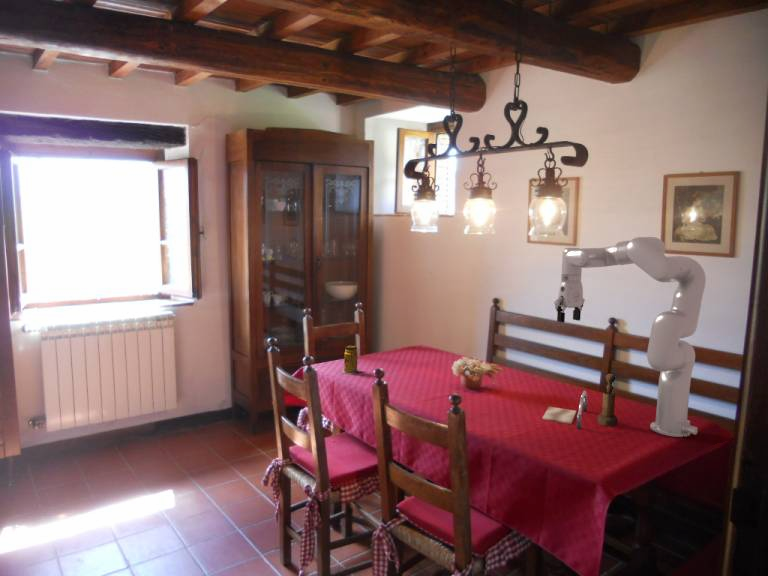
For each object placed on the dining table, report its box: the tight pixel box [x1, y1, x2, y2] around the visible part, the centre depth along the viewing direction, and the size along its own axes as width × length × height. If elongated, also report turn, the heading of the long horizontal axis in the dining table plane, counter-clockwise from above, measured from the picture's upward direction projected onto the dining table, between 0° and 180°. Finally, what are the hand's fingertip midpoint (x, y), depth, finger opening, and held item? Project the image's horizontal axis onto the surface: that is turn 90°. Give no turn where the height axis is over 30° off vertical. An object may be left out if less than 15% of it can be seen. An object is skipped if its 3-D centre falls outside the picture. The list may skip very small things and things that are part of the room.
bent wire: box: [576, 390, 588, 430], centre depth 208 cm, size 1×21×10 cm, turn 155°
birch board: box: [542, 406, 577, 425], centre depth 212 cm, size 10×14×1 cm
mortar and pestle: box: [597, 373, 618, 427], centre depth 204 cm, size 7×6×18 cm
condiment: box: [340, 345, 365, 376], centre depth 266 cm, size 7×8×12 cm
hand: (568, 321), depth 232 cm, fingers open, 9 cm apart
